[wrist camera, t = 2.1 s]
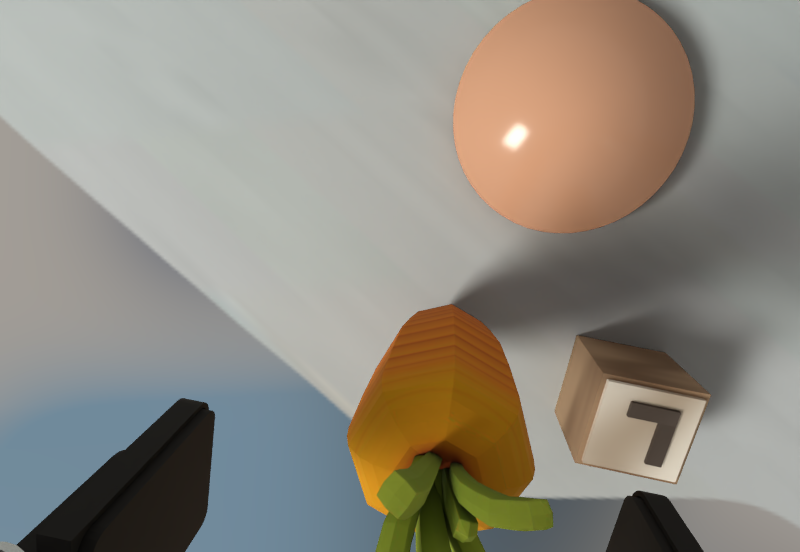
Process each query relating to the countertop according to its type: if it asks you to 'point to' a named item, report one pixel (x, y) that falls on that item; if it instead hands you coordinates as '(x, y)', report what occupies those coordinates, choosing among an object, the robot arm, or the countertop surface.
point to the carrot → (444, 438)
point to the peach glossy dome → (573, 112)
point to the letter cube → (629, 409)
